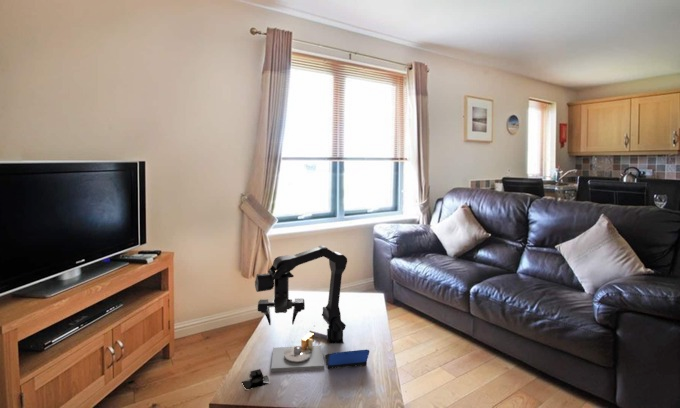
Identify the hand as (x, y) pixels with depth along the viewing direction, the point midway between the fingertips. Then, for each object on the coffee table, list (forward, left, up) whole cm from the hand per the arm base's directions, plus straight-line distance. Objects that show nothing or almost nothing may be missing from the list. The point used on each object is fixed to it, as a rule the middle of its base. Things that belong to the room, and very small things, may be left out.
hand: (281, 324), depth 151 cm
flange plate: (-8, +5, -10) cm, 14 cm away
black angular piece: (+8, +20, -13) cm, 25 cm away
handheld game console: (-26, +11, -12) cm, 31 cm away
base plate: (-7, +7, -12) cm, 15 cm away
